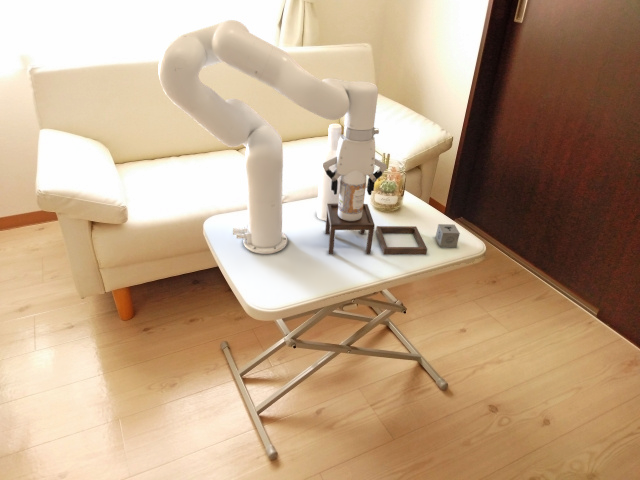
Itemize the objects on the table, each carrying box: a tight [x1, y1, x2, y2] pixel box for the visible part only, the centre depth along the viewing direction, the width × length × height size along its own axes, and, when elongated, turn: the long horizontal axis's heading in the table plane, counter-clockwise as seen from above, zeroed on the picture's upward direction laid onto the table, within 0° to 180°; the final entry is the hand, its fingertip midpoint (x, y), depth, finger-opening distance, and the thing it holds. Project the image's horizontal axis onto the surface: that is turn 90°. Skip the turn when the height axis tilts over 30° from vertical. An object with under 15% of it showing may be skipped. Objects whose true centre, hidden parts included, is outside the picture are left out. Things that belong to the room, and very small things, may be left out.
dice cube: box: [434, 223, 461, 249], centre depth 135 cm, size 5×5×5 cm
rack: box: [324, 203, 428, 256], centre depth 132 cm, size 28×12×10 cm, turn 95°
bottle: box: [316, 123, 343, 222], centre depth 139 cm, size 8×8×30 cm
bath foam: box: [338, 170, 367, 221], centre depth 124 cm, size 7×7×20 cm
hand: (351, 192), depth 125 cm, fingers open, 9 cm apart
